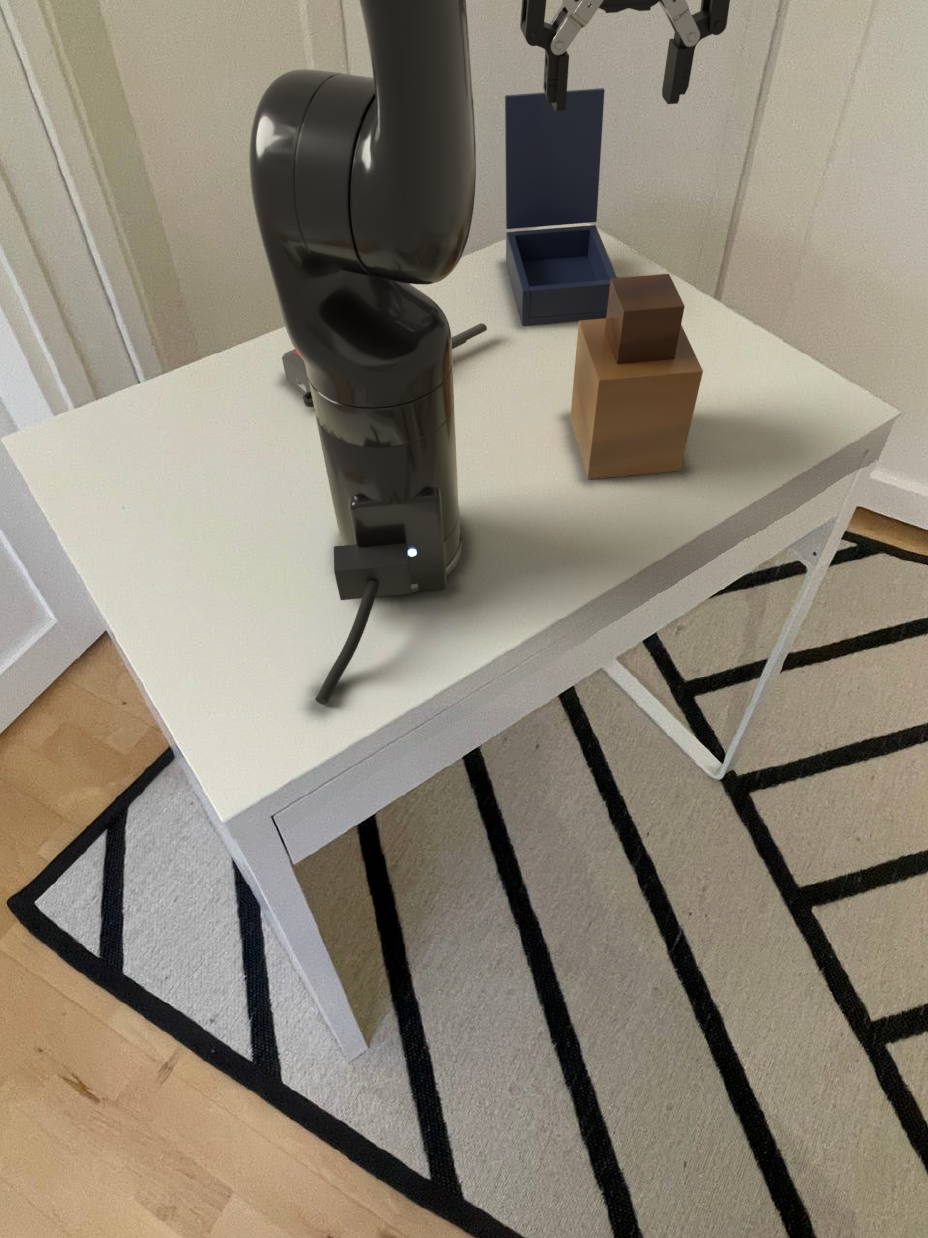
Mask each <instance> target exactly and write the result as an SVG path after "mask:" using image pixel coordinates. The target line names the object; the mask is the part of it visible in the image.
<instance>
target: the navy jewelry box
mask: <svg viewBox="0 0 928 1238" xmlns="http://www.w3.org/2000/svg"><path fill="white" fill-rule="evenodd" d="M505 236H506V239H505V244H506V245H505V267H506V271H507V275H508V278H509V283H510V286H511V290H512V293H513V297H514V302H515V305H516V309H517V313H518V316H519V320H520V324H521V326H532V325H544V324H555V323H567V322H568V323H569V322H579V321H581V320H593V319H604V318H606V316H607V307H608V298H609V290H610V281H611V278H618V276H617V274H616V271H615V269H614V266H613V264H612V262H611V259H610V256H609V254H608V252H607V249H606V247H605V245H604V242H603V240H602V237H601V235H600V232H599V229H598V226H597V225H596V224H591V225H590V224H589V225H578V226H563V227H553V228H552V227H551V228H541V229H529V230H528V229H527V230H517V231H516V230H515V231H507V232H506V235H505Z"/></svg>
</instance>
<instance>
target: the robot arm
mask: <svg viewBox="0 0 928 1238" xmlns="http://www.w3.org/2000/svg"><path fill="white" fill-rule="evenodd" d="M358 1H359V5H360V9H361V14H362V19H363V23H364V29H365V34H366V39H367V45H368V50H369V57H370V63H371V69H372V77H371V76H363V75H356V74H349V73H341V72H336V71H329V70H319V69H308V68H307V69H306V68H304V69H292V70H290V71H287V72H285V73H282V74H281V75H279V76H278V77H276V78H275V79H273V81H272V82H271V83H270V84H269V85H268V86H267V88H266V89H265V91H264V92H263V94H262V96H261V98H260V100H259V102H258V104H257V107H256V110H255V113H254V117H253V120H252V126H251V131H250V132H251V133H250V142H249V152H248V153H249V156H248V159H249V160H248V162H249V163H248V164H249V178H250V190H251V196H252V201H253V202H252V203H253V208H254V214H255V217H256V222H257V227H258V231H259V234H260V239H261V242H262V246H263V249H264V252H265V257H266V259H267V264H268V267H269V268H268V269H269V271H270V275H271V278H272V281H273V286H274V290H275V293H276V296H277V300H278V303H279V307H280V311H281V314H282V318H283V323H284V326H285V329H286V332H287V335H288V338H289V340H290V342H291V345H292V346H293V349H296V351H297V352H298V354H299V355H300V356H301V358H302V359H303V360H304V363H305V366H306V371H307V375H308V380H309V385H310V390H311V395H312V400H313V404H314V407H313V409H314V414H315V420H316V425H317V430H318V434H319V439H320V444H321V450H322V456H323V460H324V465H325V470H326V475H327V480H328V485H329V491H330V495H331V499H332V504H333V509H334V515H335V520H336V525H337V529H338V533H339V538H340V545H334V546H333V573H334V577H335V582H336V586H337V590H338V591H337V592H338V595H339V599H340V601H348V600H358V599H361V600H360V603H359V606H358V609H357V613H356V615H355V618H354V621H353V623H352V626H351V628H350V632H349V633H348V636H347V638H346V641H345V643H344V645H343V647H342V649H341V651H340V653H339V655H338V656H337V658H336V660H335V662H334V663H333V665H332V667H331V669H330V670H329V672H328V674H327V676H326V678H325V680H324V681H323V683H322V685H321V688H320V689H319V691H318V693H317V695H316V697H315V701H316V702H317V704H320V705H322V706H326V705H328V703H329V701H330V699H331V697H332V695H333V693H334V691H335V689H336V687H337V685H338V683H339V681H340V679H341V677H342V676H343V674H344V672H345V671H346V669H347V667H348V665H349V664H350V662H351V661H352V658H353V657H354V655H355V652H356V650H357V648H358V646H359V644H360V642H361V640H362V637H363V635H364V631H365V629H366V626H367V624H368V621H369V618H370V614H371V611H372V608H373V606H374V604H375V603H374V602H375V599H376V598H379V597H380V598H381V597H389V596H398V595H399V596H400V595H408V594H412V593H417V592H418V593H419V592H427V591H438V590H439V591H440V590H445V589H446V588H447V577H448V576H449V575H450V574H451V573H452V572H453V571H454V569H455V568H456V567H457V565H458V563H459V561H460V559H461V556H462V551H463V540H462V539H463V538H462V532H461V528H460V527H461V526H460V525H461V524H460V523H461V521H460V508H459V507H460V506H459V485H458V484H459V483H458V482H459V481H458V462H457V441H456V417H455V415H456V414H455V391H454V390H455V389H454V371H453V370H454V367H453V349H452V339H451V338H452V331H451V327H450V322H449V320H448V318H447V316H446V314H445V312H444V311H443V309H442V308H441V306H440V305H438V304H437V302H436V301H434V300H433V299H432V298H431V297H430V296H428V295H427V293H424V292H422V291H421V290H420V289H418V288H416V287H415V286H414V285H432V284H436V283H439V282H441V281H443V280H445V279H446V278H447V277H448V276H450V274H451V273H452V272H453V271H454V270H455V269H456V267H457V266H458V264H459V262H460V261H461V258H462V257H463V255H464V252H465V248H466V246H467V243H468V239H469V236H470V233H471V227H472V221H473V215H474V208H475V197H476V184H477V183H476V180H477V165H476V164H477V161H476V160H477V155H476V154H477V153H476V152H477V151H476V149H477V148H476V147H477V145H476V144H477V143H476V128H475V127H476V126H475V107H474V106H475V105H474V93H473V79H472V68H471V67H472V65H471V52H470V51H471V50H470V37H469V25H468V11H467V9H468V8H467V0H358ZM730 3H731V0H700V9H699V11H697V12H695V13H693V14H692V13H691V10H690V7H689V4H688V3H687V1H686V0H562V3H561V5H560V7H559V9H558V10H557V12H556V13H555V15H554V16H553V18H552V20H551V21H550V23H548V22H546V21H545V20H546V19H545V18H546V8H547V0H521V9H520V22H519V23H520V24H519V28H520V30H521V33H522V35H523V37H524V39H525V42H526V43H527V44H528V45H529V46H531V47H539V48H541V49H543V50H544V65H543V68H544V69H543V87H542V88H543V93H544V92H545V95H546V98H547V100H548V102H549V103H552V106H553V108H554V110H555V111H565V109H566V96H567V91H568V81H569V79H568V78H569V65H570V55H569V53H568V49H569V47H570V45H571V44H572V43H573V41H574V40H575V39H576V37H577V35H578V34H579V32H580V31H581V30H582V29H583V28H585V27H586V26H587V25H588V24H589V22H590V21H591V19H592V18H593V17H594V15H595V14H596V13H597V11H598V9H600V10H602V11H604V12H605V14H615V13H616V14H617V13H619V12H623V11H625V10H627V9H631V10H635V11H638V12H648V11H651V8H652V7H654V6H655V5H657V4H659V6H660V7H661V9H662V10H663V12H664V15H665V16H666V18H667V20H668V22H669V25H670V26H671V28H672V30H673V32H674V34H673V38H669V40H668V46H667V53H666V60H665V66H664V74H663V82H662V88H661V95H662V99H663V100H664V101H665V103H666V105H677V104H678V103H679V102H680V97H681V95H682V96H683V95H686V93H687V91H688V88H689V87H690V86H689V85H690V80H691V74H692V69H693V62H694V57H695V50H696V47H697V45H698V44H699V42H700V41H702V40H703V39H705V38H707V37H709V36H712V35H713V36H719V35H721V34H722V33H723V32H724V31H725V30H726V28H727V25H728V19H729V18H728V17H729V12H730V11H729V9H730Z"/></svg>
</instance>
